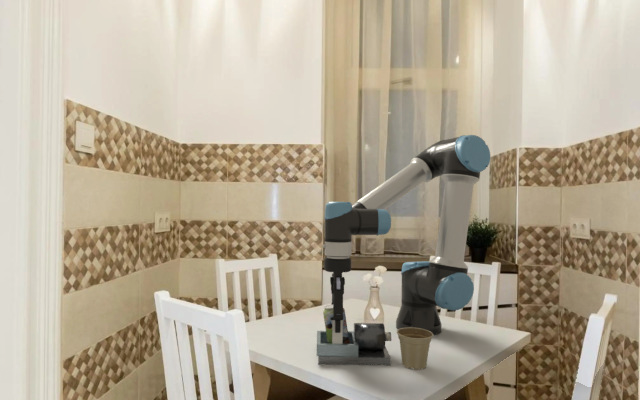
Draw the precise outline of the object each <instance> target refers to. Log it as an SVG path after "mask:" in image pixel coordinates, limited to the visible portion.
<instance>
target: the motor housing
mask: <svg viewBox="0 0 640 400" xmlns="http://www.w3.org/2000/svg"><path fill="white" fill-rule="evenodd" d="M385 329H386V328H385V324H384V323H377V322H375V323H373V322H361V323H360V322H354V323H353V330H350V331H349V330H348V335H349V342H350V344H328V341H327V335H326V330H317V331H316V357H318V358H317V359H318V360H317V361H318V364H317V365H321V366H322V365H324V366H325V365H328V366H332V365H333V366H336V365H337V366H340V365H341V366H391V365H392V359H391V355H390V353H389V351H388V349H387V346H386V342H392V333H391V332H390V331H386V330H385Z"/></svg>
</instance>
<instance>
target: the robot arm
mask: <svg viewBox="0 0 640 400" xmlns="http://www.w3.org/2000/svg"><path fill="white" fill-rule="evenodd" d="M490 162H491V152H490V147H489V146H488V144H487V143H486V141H485V140H484V139H483V138H482V137H480V136H478V135H476V134H468V135H463V134H462V135H460V136H455V137H453V138H448V139H442V140H439V141H437V142H435V143H433V144H431V145H430V146H428V147H427V148H425V149H424V150H423V151H421V152H420V153H419V154H417V155H415V157H413V158H411V160H410V163H409V164H408V165H406V166H405V167H404V168H402V169H400V171H398V172H397V173H395V174H394V175H393V176H391V177H389V178H388V179H387V180H385V181H384V182H382V183H381V184H379V185H378V186H377V187H376V188H374V189H372V190H371V191H370V192H368V193H367V194H365V195H364V196H363V197H361V198H360V199H359V200H357V201H356V202H354V203H352V202H351V201H328V202H326V204H325V209H324V244H322V249H324V255H325V257H324V259H323V262H324V263H323V267H324V268H323V270H324V271H325V272H328V273H331V276H330V279H329V282H330V291H331V295H332V296H331V304H330V305H333V317H331V318H330V320H333V325H332V344H342V342H343V308H344V294H345V285H346V282H345V281H346V278H345V276H343V273H349V272H351V270H352V259H351V256H352V245H353V243H352V242H353V241H352V236H380V235H387V234H388V233H389V232H390V230H391V227H392V218H391V214H390V213H389V211H388V210H387V209H388V208H389V207H391V206H392V205H394V204H395V203H397V202H398V201H399V200H400V199H402V198H403V197H405V196H406V195H407V194H409V193H410V192H411V191H413V190H414V189H416V188H417V187H418V186H420V185H421V184H423V183H429V182H431V181H432V180H433V179H435V178H437V177H440V178H441V179H442V180H443V181H444V188H443V196H442V202H441V209H440V210H441V211H440V219H439V226H438V233H437V238H436V239H437V240H436V247H435V248H436V249H435V255H434V257H433V258H432V259H430V260H429V261H427V260H426V261H425V260H423V261H421V260H420V261H406V262H404V263H402V267H401V273H400V274H401V304H400V305H401V306H400V309H399V312H398V314H397V318H396V321H395V328H396V329H397V330H398V329H401V328H407V327H408V328H409V327H411V328H412V327H413V328H421V329H425V330H428V331H430V332H432V333H433V336H435V335H438V334H440V333H442V327H443V326H442V322H441V318H440V314H439V312H438V308H440V309H444V310H448V311H459V310H461V309H463V308H464V307H465V306H468V304H470V301H471V300H472V299H473V295H474V292H475V291H474V289H475V285H474V282H473V280H472V278H471V277H470V276H469V275H468V270H469V266H468V265H467V264H466V263H465V253H466V245H467V238H468V231H469V223H470V216H471V215H470V214H471V206H472V198H473V192H474V186H475V184H477V183H478V182H480V177H481V172H484V171H485V170H486V169H487V168H488V166H489V165H490ZM437 306H438V308H437ZM336 314H340V315H336Z"/></svg>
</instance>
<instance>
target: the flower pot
mask: <svg viewBox="0 0 640 400" xmlns="http://www.w3.org/2000/svg"><path fill="white" fill-rule="evenodd" d="M396 334H397V337H398V340H399V347H400V356H401V364H402V365H403V367H405V368H407V369H413V370H417V371H418V370H419V371H420V370H424V369H425V368H426V367H427V365H428V363H427V362H428V357H429V351H430V346H431V344H430V343H431V341H432V338H433V337H434V335H433V333H432V332H430V331H428V330H425V329H421V328H413V327H412V328H411V327H409V328H408V327H407V328H401V329H397V330H396Z"/></svg>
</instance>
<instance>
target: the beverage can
mask: <svg viewBox="0 0 640 400" xmlns="http://www.w3.org/2000/svg"><path fill="white" fill-rule="evenodd" d="M336 315H340V314H336ZM331 317H333V305H331V304H329V305H326V306H324V310H323V319H324V320H323V321H324V327H325V328H324V329H325V331H326V335H327V341H328V344H332V325H333V320H330V318H331ZM348 331H349V329H348V322H347V317H346V310H345V308H344V307H343V342H342V344H350V342H349V335H348Z"/></svg>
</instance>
